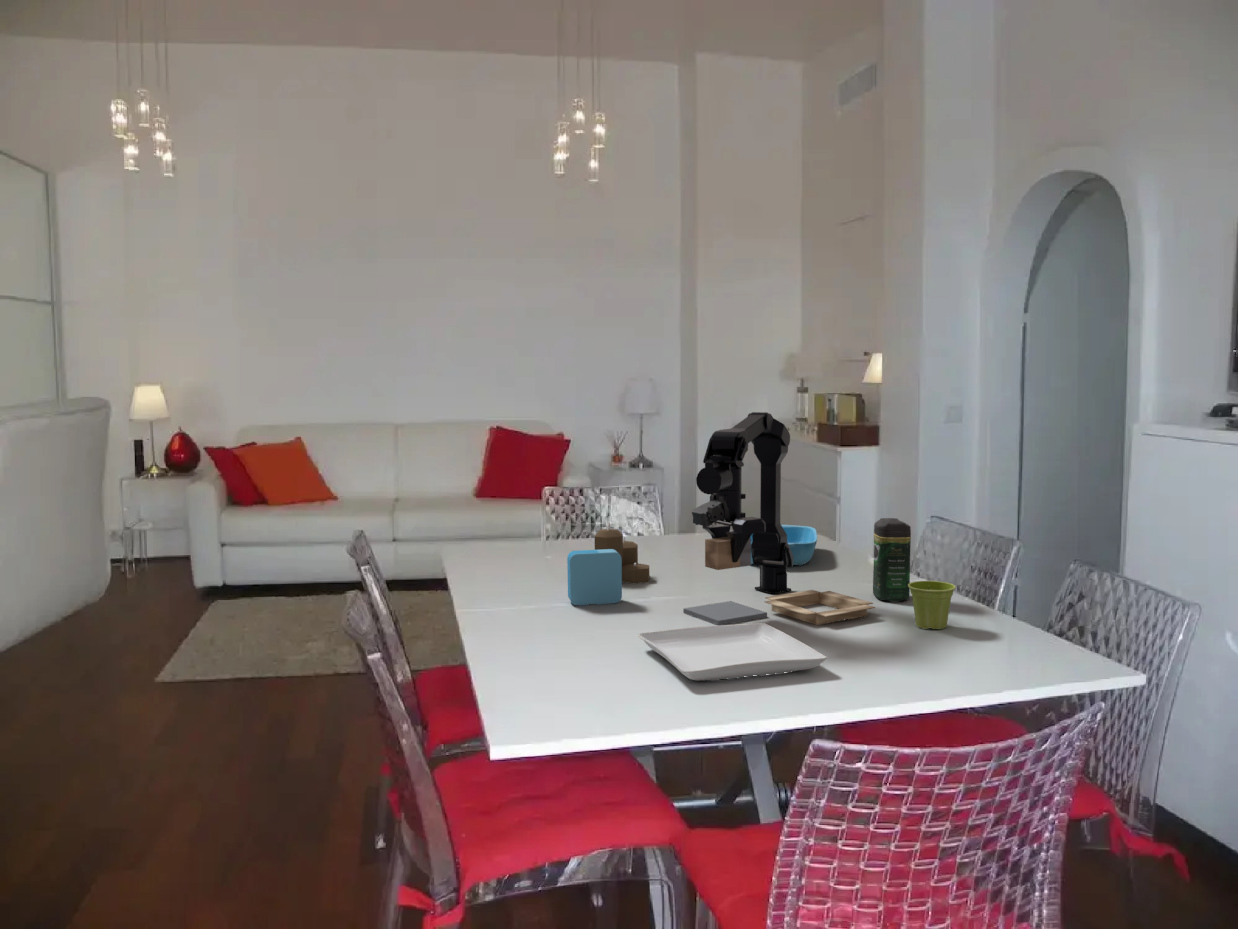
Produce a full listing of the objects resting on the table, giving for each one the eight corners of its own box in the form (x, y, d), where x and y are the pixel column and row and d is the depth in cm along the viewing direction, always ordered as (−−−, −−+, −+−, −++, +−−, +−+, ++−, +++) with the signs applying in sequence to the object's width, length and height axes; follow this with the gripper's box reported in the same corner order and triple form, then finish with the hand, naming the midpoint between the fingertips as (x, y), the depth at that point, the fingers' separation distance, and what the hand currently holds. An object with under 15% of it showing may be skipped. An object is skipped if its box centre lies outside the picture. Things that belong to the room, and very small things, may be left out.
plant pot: (930, 634, 206) (931, 592, 205) (897, 624, 214) (898, 583, 213) (964, 628, 210) (965, 587, 209) (931, 618, 219) (932, 578, 218)
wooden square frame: (755, 609, 228) (755, 598, 228) (820, 599, 238) (820, 588, 237) (816, 629, 211) (816, 617, 211) (883, 617, 220) (883, 605, 220)
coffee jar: (913, 602, 233) (914, 522, 231) (878, 602, 233) (879, 522, 232) (903, 593, 243) (904, 515, 241) (869, 593, 243) (870, 516, 241)
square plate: (829, 676, 181) (830, 655, 180) (684, 692, 173) (684, 670, 172) (765, 638, 206) (765, 619, 206) (635, 650, 199) (635, 630, 198)
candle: (606, 587, 253) (605, 527, 252) (585, 576, 266) (584, 519, 264) (655, 581, 259) (654, 523, 257) (632, 571, 271) (631, 515, 270)
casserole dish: (740, 545, 310) (740, 521, 309) (815, 546, 306) (815, 523, 305) (734, 569, 273) (734, 543, 273) (819, 571, 270) (819, 544, 269)
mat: (683, 612, 226) (683, 608, 226) (730, 605, 233) (730, 600, 232) (718, 625, 215) (718, 620, 215) (767, 617, 221) (767, 612, 221)
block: (705, 566, 222) (705, 539, 221) (738, 562, 227) (738, 535, 226) (717, 570, 218) (717, 542, 218) (750, 565, 223) (750, 538, 222)
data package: (618, 599, 240) (618, 548, 239) (622, 603, 236) (621, 552, 235) (567, 601, 238) (567, 550, 237) (570, 606, 233) (569, 554, 232)
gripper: (672, 487, 225) (673, 557, 226) (724, 496, 209) (724, 571, 210) (713, 484, 230) (713, 552, 232) (767, 492, 215) (766, 566, 216)
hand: (728, 560), depth 222 cm, fingers closed on block, 4 cm apart
